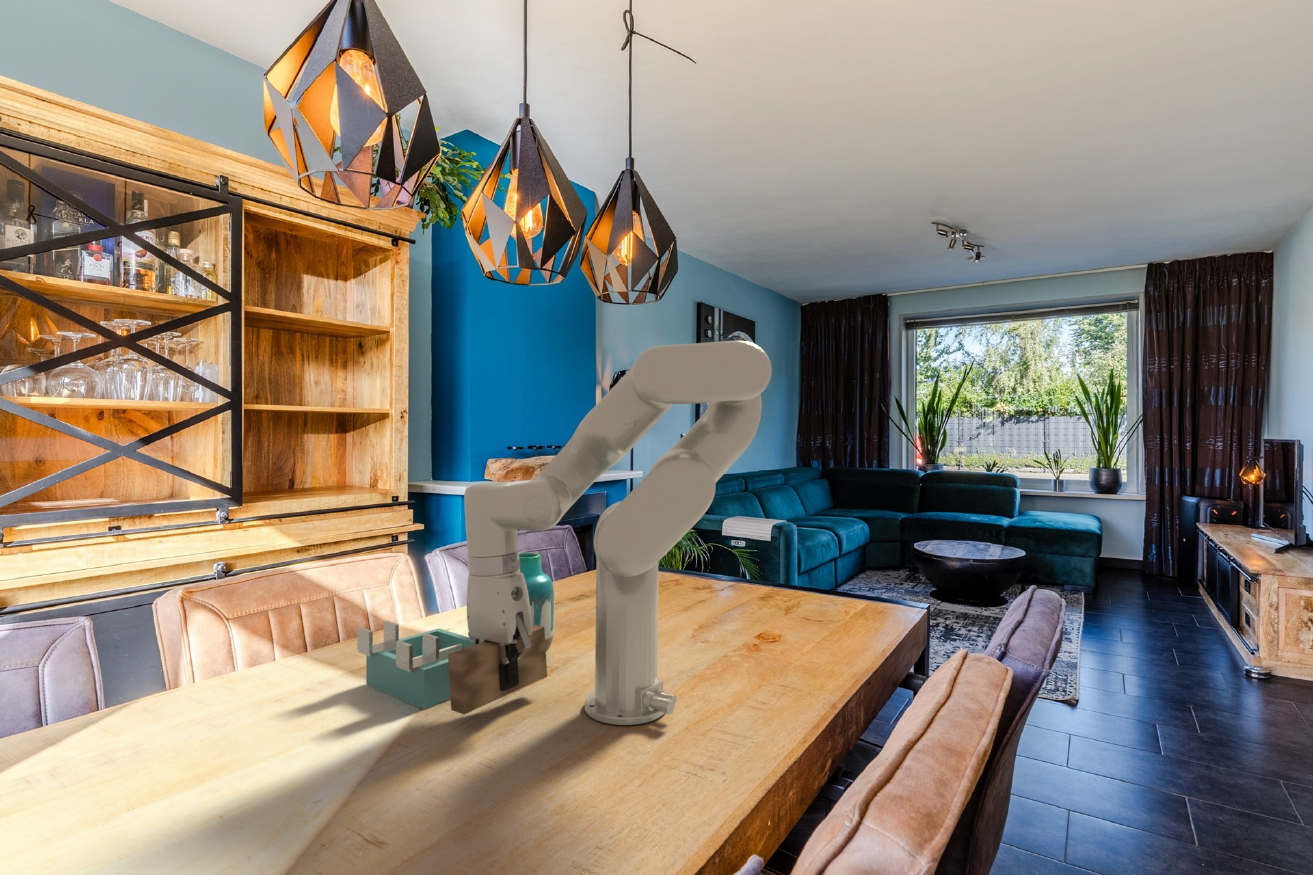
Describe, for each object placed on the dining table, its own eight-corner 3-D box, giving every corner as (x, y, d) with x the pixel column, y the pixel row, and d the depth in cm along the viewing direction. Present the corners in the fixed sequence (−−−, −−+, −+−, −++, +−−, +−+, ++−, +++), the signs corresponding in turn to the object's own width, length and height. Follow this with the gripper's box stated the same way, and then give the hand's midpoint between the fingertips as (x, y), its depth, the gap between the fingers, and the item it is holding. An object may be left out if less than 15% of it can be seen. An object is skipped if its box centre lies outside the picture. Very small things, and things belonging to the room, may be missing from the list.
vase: (483, 661, 121) (484, 556, 120) (521, 644, 130) (522, 547, 130) (530, 671, 116) (530, 562, 115) (565, 653, 125) (566, 552, 125)
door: (534, 673, 107) (531, 624, 107) (547, 676, 105) (544, 626, 105) (451, 709, 94) (448, 654, 94) (464, 714, 92) (461, 657, 92)
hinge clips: (439, 662, 103) (439, 637, 103) (409, 672, 98) (409, 646, 98) (386, 644, 111) (386, 620, 111) (357, 652, 107) (357, 627, 107)
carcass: (496, 681, 111) (496, 645, 111) (423, 709, 100) (423, 669, 100) (438, 660, 120) (439, 628, 120) (366, 684, 109) (366, 648, 109)
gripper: (550, 563, 98) (557, 686, 98) (479, 556, 107) (486, 667, 108) (511, 574, 92) (519, 705, 92) (439, 565, 101) (447, 683, 102)
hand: (501, 684), depth 100 cm, fingers closed on door, 3 cm apart
